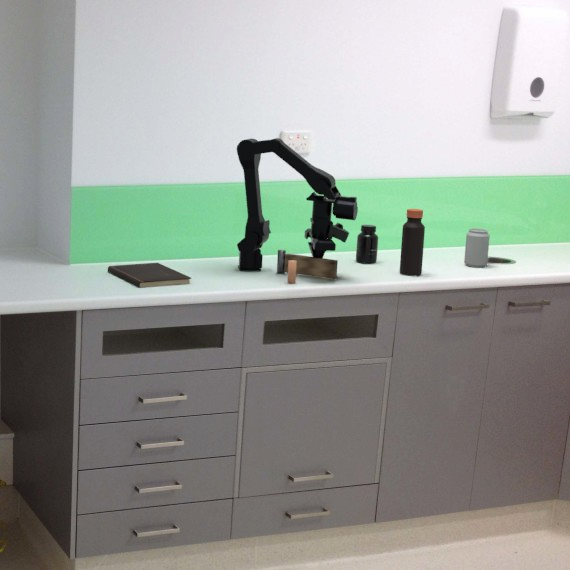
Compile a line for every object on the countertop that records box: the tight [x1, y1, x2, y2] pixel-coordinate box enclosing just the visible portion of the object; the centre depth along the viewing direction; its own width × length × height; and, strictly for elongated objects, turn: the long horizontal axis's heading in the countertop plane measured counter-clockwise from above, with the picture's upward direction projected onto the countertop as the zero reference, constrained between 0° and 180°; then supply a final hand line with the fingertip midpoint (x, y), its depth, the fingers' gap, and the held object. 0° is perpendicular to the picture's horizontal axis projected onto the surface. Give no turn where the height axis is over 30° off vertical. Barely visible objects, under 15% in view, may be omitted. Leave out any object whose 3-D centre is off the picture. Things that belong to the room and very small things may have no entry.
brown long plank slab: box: [285, 253, 339, 280], centre depth 319 cm, size 16×2×6 cm, turn 64°
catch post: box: [287, 260, 297, 285], centre depth 310 cm, size 2×2×6 cm
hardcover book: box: [107, 262, 192, 289], centre depth 309 cm, size 16×23×2 cm
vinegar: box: [399, 208, 426, 277], centre depth 330 cm, size 7×7×20 cm
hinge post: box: [276, 249, 287, 275], centre depth 323 cm, size 2×2×7 cm
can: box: [463, 228, 491, 268], centre depth 349 cm, size 8×8×12 cm
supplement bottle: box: [355, 224, 379, 265], centre depth 347 cm, size 7×7×12 cm
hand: (317, 267), depth 322 cm, fingers closed
